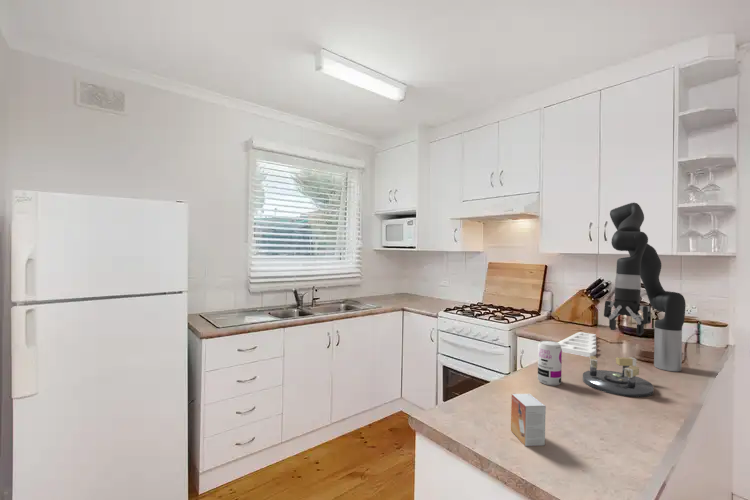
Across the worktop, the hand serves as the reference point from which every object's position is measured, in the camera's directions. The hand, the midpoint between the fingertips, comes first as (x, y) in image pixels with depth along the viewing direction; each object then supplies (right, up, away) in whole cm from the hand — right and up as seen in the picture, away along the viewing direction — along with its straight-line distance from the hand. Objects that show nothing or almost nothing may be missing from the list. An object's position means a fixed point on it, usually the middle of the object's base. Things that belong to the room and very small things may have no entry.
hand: (625, 332), depth 129 cm
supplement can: (-23, -21, +9) cm, 33 cm away
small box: (-49, -21, -32) cm, 62 cm away
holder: (+22, -22, +64) cm, 71 cm away
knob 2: (+2, -19, -1) cm, 19 cm away
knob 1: (-5, -19, +10) cm, 22 cm away
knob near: (+8, -19, +11) cm, 23 cm away
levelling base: (+1, -21, +7) cm, 23 cm away
